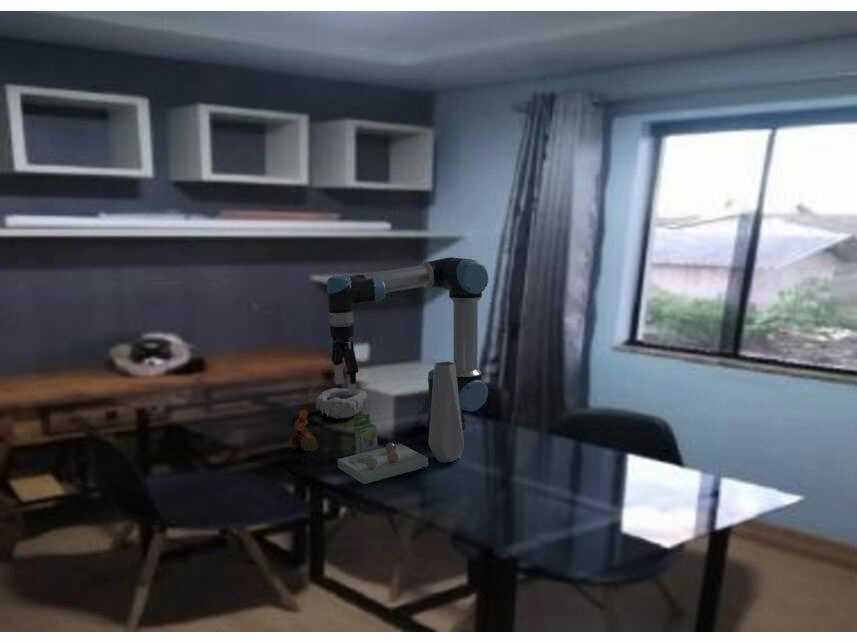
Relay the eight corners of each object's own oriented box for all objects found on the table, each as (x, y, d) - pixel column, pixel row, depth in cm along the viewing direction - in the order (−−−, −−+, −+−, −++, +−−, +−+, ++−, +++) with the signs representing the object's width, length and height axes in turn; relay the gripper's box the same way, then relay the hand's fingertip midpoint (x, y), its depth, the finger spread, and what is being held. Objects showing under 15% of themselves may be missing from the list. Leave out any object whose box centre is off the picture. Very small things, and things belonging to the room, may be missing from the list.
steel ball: (393, 450, 264) (392, 440, 263) (398, 452, 261) (397, 442, 260) (384, 452, 262) (383, 442, 261) (389, 455, 259) (388, 445, 258)
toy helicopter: (310, 442, 285) (307, 406, 282) (328, 459, 266) (325, 421, 264) (288, 446, 281) (285, 410, 279) (305, 464, 263) (302, 425, 260)
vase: (455, 468, 253) (451, 369, 247) (425, 462, 259) (420, 366, 253) (473, 456, 263) (470, 361, 257) (443, 451, 269) (440, 358, 263)
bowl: (365, 423, 304) (364, 398, 302) (313, 425, 305) (311, 400, 303) (370, 407, 325) (368, 384, 323) (321, 409, 325) (319, 386, 323)
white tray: (400, 451, 271) (400, 443, 270) (428, 466, 256) (428, 457, 255) (338, 467, 258) (337, 459, 258) (363, 484, 243) (363, 475, 243)
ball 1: (374, 465, 250) (373, 455, 250) (379, 468, 248) (378, 458, 247) (364, 467, 249) (363, 457, 248) (369, 471, 246) (369, 460, 245)
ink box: (362, 457, 267) (359, 420, 264) (355, 454, 270) (353, 417, 267) (378, 452, 271) (376, 415, 269) (371, 449, 274) (369, 413, 272)
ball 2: (394, 459, 255) (394, 449, 254) (400, 462, 252) (399, 452, 252) (385, 461, 253) (384, 451, 253) (390, 464, 250) (390, 454, 250)
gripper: (319, 320, 260) (323, 381, 264) (342, 332, 237) (347, 399, 241) (340, 317, 263) (345, 378, 267) (365, 329, 240) (370, 395, 244)
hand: (346, 388), depth 254 cm, fingers open, 13 cm apart
